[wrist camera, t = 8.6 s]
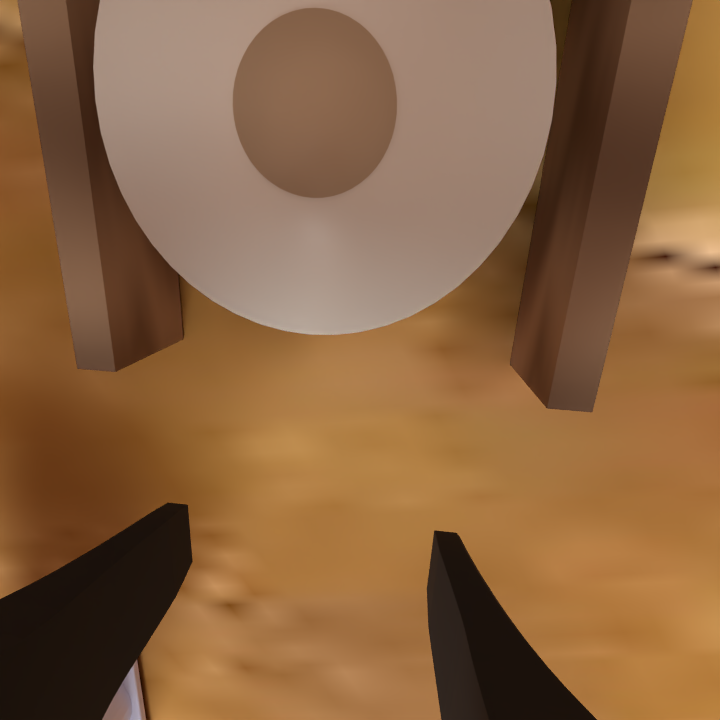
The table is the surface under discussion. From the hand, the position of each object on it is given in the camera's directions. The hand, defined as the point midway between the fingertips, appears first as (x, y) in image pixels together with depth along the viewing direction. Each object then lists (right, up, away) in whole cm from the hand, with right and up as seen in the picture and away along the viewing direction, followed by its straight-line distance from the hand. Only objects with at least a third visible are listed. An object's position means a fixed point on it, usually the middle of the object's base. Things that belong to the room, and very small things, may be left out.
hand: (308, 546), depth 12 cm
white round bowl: (+1, +12, +2) cm, 12 cm away
